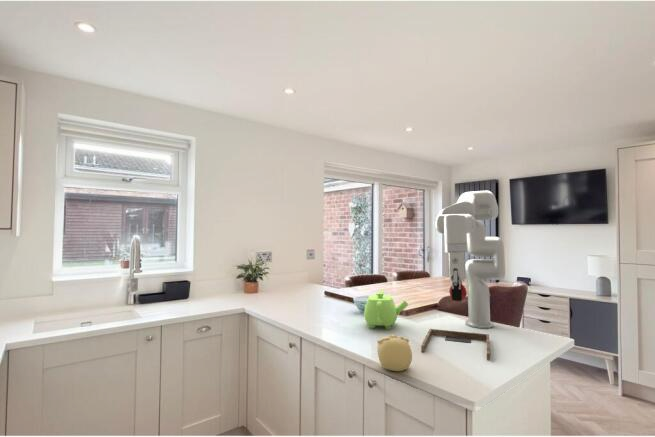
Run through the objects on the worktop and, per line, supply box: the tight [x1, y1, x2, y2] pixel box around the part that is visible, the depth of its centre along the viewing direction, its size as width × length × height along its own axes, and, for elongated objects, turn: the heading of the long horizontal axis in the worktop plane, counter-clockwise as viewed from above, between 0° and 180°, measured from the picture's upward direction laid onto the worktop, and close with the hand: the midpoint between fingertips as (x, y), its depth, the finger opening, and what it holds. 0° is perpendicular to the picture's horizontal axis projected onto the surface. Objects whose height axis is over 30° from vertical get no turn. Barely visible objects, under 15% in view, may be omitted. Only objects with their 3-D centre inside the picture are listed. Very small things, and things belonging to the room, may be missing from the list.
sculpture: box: [377, 334, 413, 372], centre depth 120 cm, size 11×12×11 cm
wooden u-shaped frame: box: [420, 328, 491, 361], centre depth 139 cm, size 23×24×2 cm
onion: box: [448, 282, 468, 303], centre depth 125 cm, size 6×6×8 cm
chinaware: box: [353, 295, 370, 314], centre depth 198 cm, size 15×15×8 cm
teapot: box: [363, 289, 409, 330], centre depth 172 cm, size 25×22×16 cm
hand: (457, 298), depth 125 cm, fingers closed on onion, 5 cm apart
